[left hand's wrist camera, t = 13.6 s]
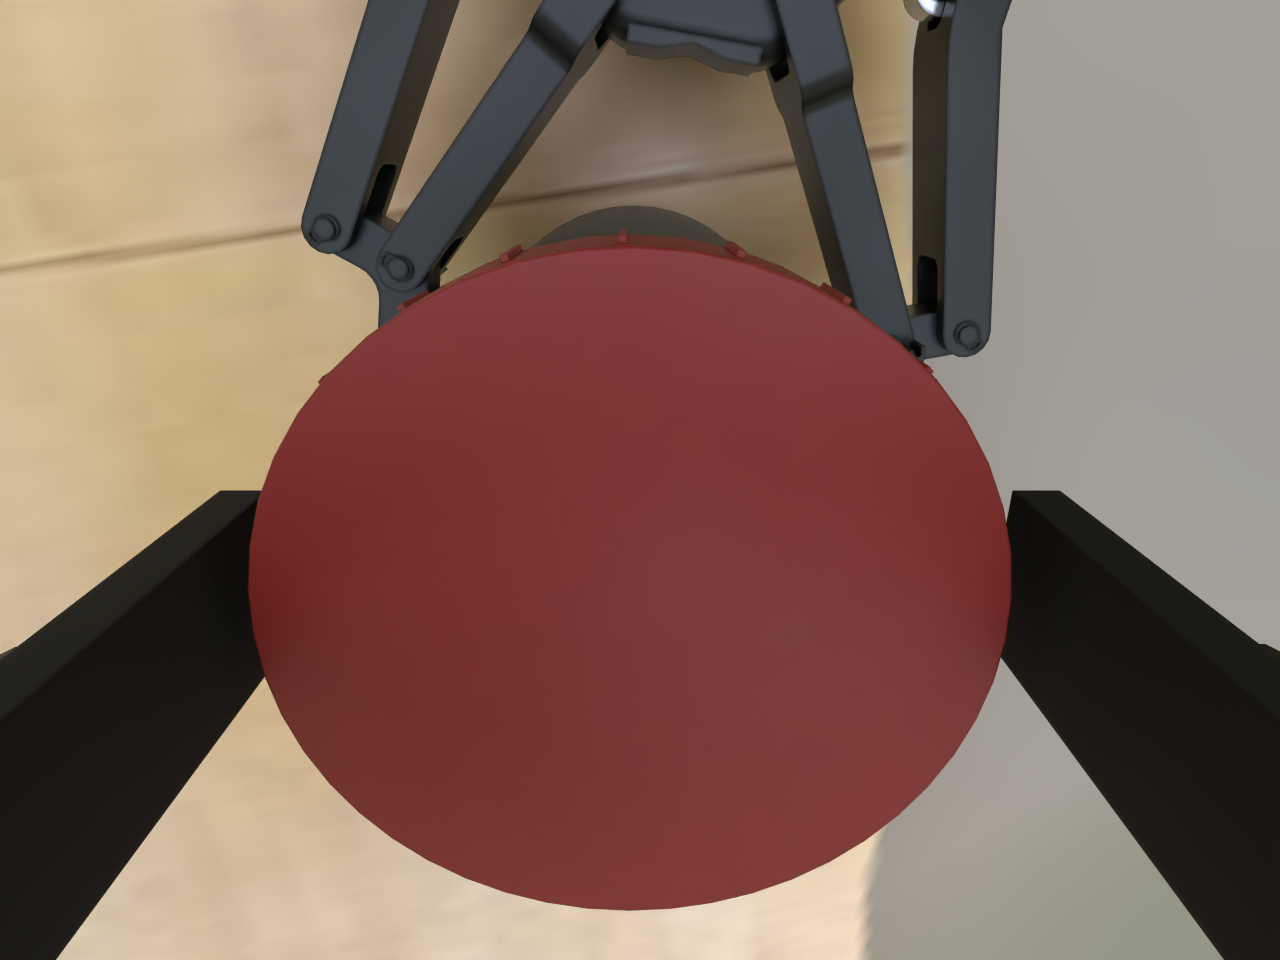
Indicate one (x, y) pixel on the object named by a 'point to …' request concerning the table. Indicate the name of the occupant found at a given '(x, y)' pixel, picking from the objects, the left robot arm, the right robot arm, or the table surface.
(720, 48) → the right robot arm
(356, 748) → the lid
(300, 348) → the table surface
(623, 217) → the jar
